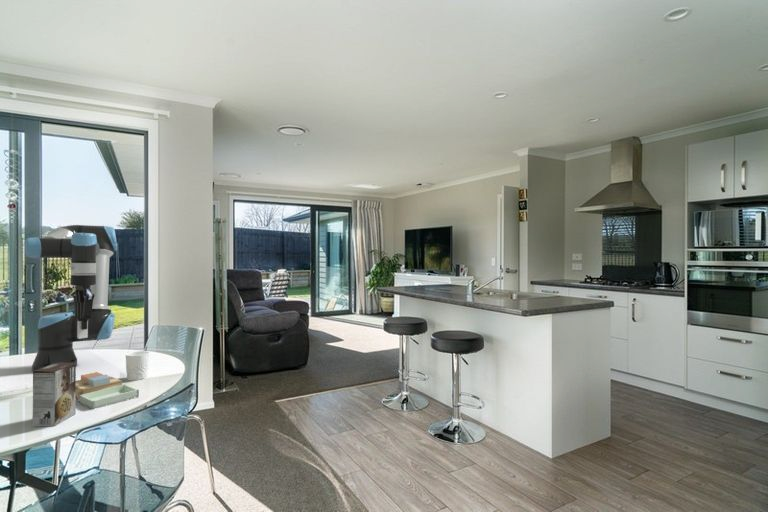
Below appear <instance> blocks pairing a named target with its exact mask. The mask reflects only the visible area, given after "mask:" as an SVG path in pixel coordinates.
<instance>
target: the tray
mask: <svg viewBox="0 0 768 512" xmlns="http://www.w3.org/2000/svg"><path fill="white" fill-rule="evenodd" d="M139 393H140V390H139V388H136V387H133V386H130V385H128V384H126V383H125V384H122V385H120V386H116V387H112V388H107V389H103V390H99V391H95V392H91V393H86V394H82V395H79V400H78V403H79V404H81V405H84V406H85V407H87V408H89V409H91V410H95V408H96V409H100V408H102V407H106V405H107V406H110V405H113V404H118V403H121V402H120V401H122V402H124V401H123V400H125V401H128V400H127V399H129V400H132V399H131V398H133V399H135V398H134V397H136V398H139V397H138V396H140V394H139ZM117 402H118V403H117Z"/></svg>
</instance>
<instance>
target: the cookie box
mask: <svg viewBox="0 0 768 512" xmlns="http://www.w3.org/2000/svg"><path fill="white" fill-rule="evenodd" d="M76 370H77V366H76V363H53V364H50V365H48V366H45V367H43V368H40V369H37V370H35V371H32V424H31V425H32V427H56V426H57V425H59V424H60V423H62V422H64V421H66V420H67V419H69V418H71V417H73V416H74V415H76V410H77V408H76V405H77V404H76V402H77V401H76V381H77V379H76V378H77V375H76Z"/></svg>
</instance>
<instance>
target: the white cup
mask: <svg viewBox="0 0 768 512" xmlns="http://www.w3.org/2000/svg"><path fill="white" fill-rule="evenodd" d="M149 354H150V353H149V351H148V350H147V351H145V350H137V351H131V352H127V353H126V354H125V370H126V371H125V372H126V380H127V381H129V382H130V381H132V382H134V381H135V380H136V381H142V380H145V379H146V378H147V377H148V369H149V368H148V367H149ZM136 381H135V382H136Z"/></svg>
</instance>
